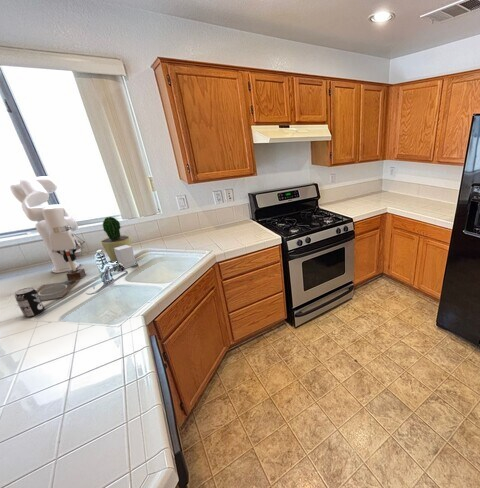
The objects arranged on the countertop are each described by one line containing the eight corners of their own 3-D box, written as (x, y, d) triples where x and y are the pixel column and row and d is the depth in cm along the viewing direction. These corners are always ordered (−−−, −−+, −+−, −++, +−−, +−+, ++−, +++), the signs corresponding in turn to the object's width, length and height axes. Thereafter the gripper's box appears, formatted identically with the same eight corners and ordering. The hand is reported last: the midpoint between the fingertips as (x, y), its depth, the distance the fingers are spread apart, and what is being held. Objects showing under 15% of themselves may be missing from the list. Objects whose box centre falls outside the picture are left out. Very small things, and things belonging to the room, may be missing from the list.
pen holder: (73, 276, 154) (70, 270, 153) (86, 274, 156) (83, 268, 155) (68, 280, 149) (65, 274, 147) (81, 278, 151) (79, 272, 149)
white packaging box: (137, 264, 168) (132, 246, 164) (124, 269, 162) (118, 250, 158) (131, 262, 172) (126, 244, 168) (118, 266, 166) (113, 247, 162)
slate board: (43, 285, 144) (43, 284, 143) (80, 280, 149) (79, 279, 149) (20, 304, 126) (19, 303, 126) (62, 298, 132) (61, 296, 131)
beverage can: (44, 307, 124) (34, 285, 120) (46, 312, 120) (35, 289, 116) (23, 314, 119) (12, 291, 115) (25, 319, 115) (13, 296, 111)
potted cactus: (113, 266, 166) (98, 220, 156) (103, 261, 174) (88, 217, 164) (139, 258, 178) (127, 215, 168) (129, 253, 186) (117, 212, 176)
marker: (73, 270, 151) (66, 251, 147) (77, 269, 152) (70, 250, 148) (71, 271, 149) (64, 252, 145) (76, 271, 150) (68, 251, 146)
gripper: (80, 226, 148) (91, 256, 154) (44, 229, 143) (56, 260, 149) (74, 229, 142) (85, 260, 148) (35, 233, 136) (49, 265, 142)
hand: (70, 260), depth 148 cm, fingers closed on marker, 2 cm apart
